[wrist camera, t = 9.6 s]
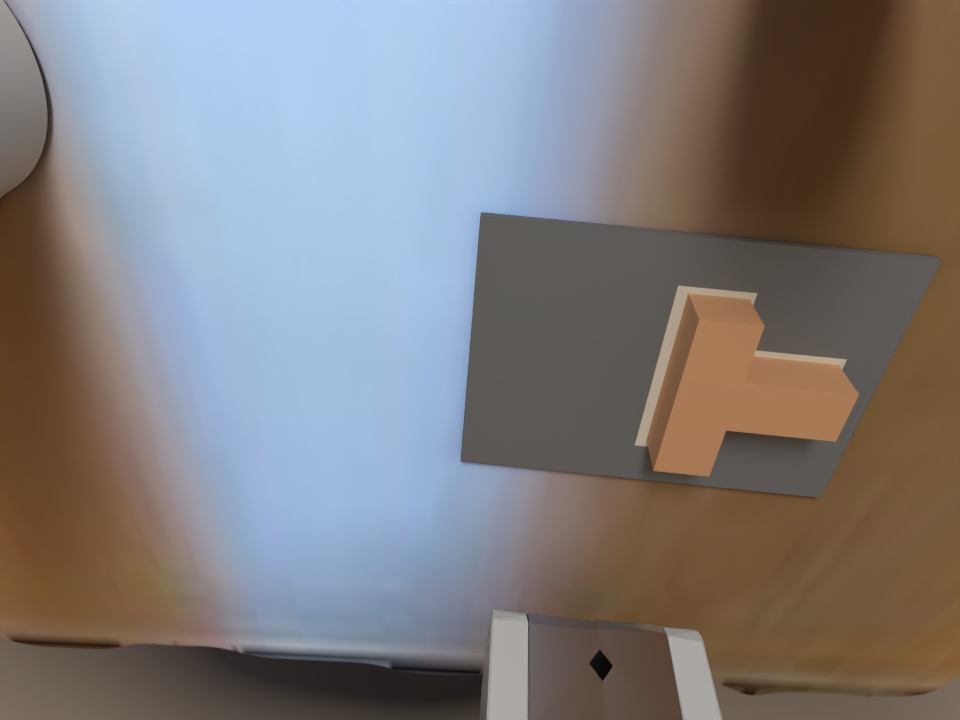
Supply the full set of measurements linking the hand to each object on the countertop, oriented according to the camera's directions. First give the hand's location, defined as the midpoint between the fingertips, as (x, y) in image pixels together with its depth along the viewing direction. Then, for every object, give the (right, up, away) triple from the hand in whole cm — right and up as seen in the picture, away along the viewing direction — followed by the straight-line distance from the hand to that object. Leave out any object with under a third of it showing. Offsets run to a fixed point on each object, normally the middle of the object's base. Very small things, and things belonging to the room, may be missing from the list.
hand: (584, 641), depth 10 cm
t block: (+15, +3, +31) cm, 35 cm away
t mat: (+10, +4, +32) cm, 33 cm away
